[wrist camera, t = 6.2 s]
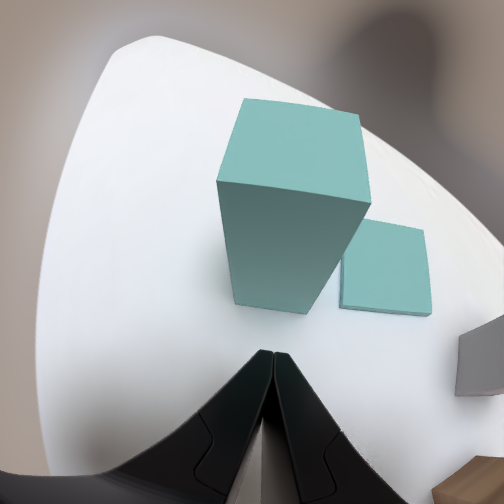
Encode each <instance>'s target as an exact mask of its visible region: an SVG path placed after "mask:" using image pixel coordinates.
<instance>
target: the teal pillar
mask: <svg viewBox="0 0 504 504" xmlns="http://www.w3.org/2000/svg"><path fill="white" fill-rule="evenodd" d="M216 182H217V189H218V196H219V203H220V210H221V217H222V224H223V231H224V237H225V244H226V250H227V257H228V263H229V269H230V276H231V282H232V288H233V294H234V300H235V304H238V305H244V306H251V307H258V308H264V309H271V310H278V311H286V312H293V313H301V314H307V313H308V311H309V310H310V308H311V307H312V305H313V304H314V302H315V300H316V299H317V297H318V296H319V294H320V292H321V291H322V289H323V287H324V286H325V284H326V283H327V281H328V279H329V278H330V276H331V274H332V273H333V271H334V269H335V268H336V266H337V264H338V262H339V261H340V259H341V257H342V256H343V254H344V252H345V250H346V249H347V247H348V245H349V243H350V242H351V240H352V238H353V236H354V234H355V233H356V231H357V229H358V227H359V225H360V224H361V222H362V220H363V218H364V216H365V214H366V212H367V210H368V209H369V207H370V205H371V195H370V186H369V177H368V170H367V163H366V156H365V149H364V143H363V137H362V131H361V126H360V121H359V115H357V114H352V113H347V112H342V111H337V110H332V109H326V108H321V107H315V106H308V105H302V104H294V103H287V102H278V101H269V100H259V99H247V98H244V100H243V103H242V105H241V108H240V111H239V114H238V117H237V120H236V122H235V125H234V128H233V131H232V134H231V137H230V140H229V143H228V146H227V149H226V152H225V155H224V158H223V161H222V164H221V167H220V170H219V173H218V177H217V180H216Z"/></svg>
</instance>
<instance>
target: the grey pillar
mask: <svg viewBox="0 0 504 504" xmlns="http://www.w3.org/2000/svg"><path fill="white" fill-rule="evenodd" d="M499 394H504V315H502V316H500V317H498V318H496V319H494V320H492V321H490V322H488V323H486V324H484V325H482V326H480V327H478V328H476V329H474V330H471V331H469V332H467V333H465V334H463V335H460V336H459V355H458V369H457V380H456V389H455V396H493V395H499Z"/></svg>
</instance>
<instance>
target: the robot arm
mask: <svg viewBox="0 0 504 504" xmlns="http://www.w3.org/2000/svg"><path fill="white" fill-rule="evenodd" d="M262 418H263V420H262ZM261 422H262V464H261V504H408V503H407V502H406V501H405V500H403V499H402V498H401V497H400V496H399V495H398V494H397V493H396V492H395V491H394V490H393V489H392V488H391V487H390V486H389V485H388V484H387V483H386V482H385V481H384V480H383V479H382V478H381V477H380V476H379V475H378V474H377V473H376V472H375V471H374V470H373V469H372V468H371V466H370V465H369V464H368V463H367V462H366V461H365V460H364V459H363V458H362V456H361V455H360V454H359V453H358V452H357V450H356V449H355V448H354V446H353V445H352V444H351V443H350V441H349V440H348V438H347V437H346V436H345V434H344V433H343V432H342V431H341V429H340V427H339V426H338V425H337V423H336V422H335V420H334V419H333V417H332V416H331V415H330V413H329V412H328V410H327V409H326V407H325V406H324V405H323V403H322V402H321V400H320V399H319V397H318V396H317V394H316V393H315V392H314V390H313V389H312V387H311V386H310V384H309V383H308V381H307V380H306V378H305V377H304V375H303V374H302V373H301V371H300V370H299V368H298V367H297V365H296V364H295V362H294V361H293V359H292V358H291V356H290V355H289V354H288V353H282V352H275V353H273V352H272V351H268V350H261V349H260V350H258V351H257V352H256V353H255V355H254V356H253V357H252V358H251V359H250V360H249V361H248V362H247V363H246V364H245V365H244V366H243V367H242V368H241V369H240V370H239V371H238V372H237V373H236V374H235V375H234V376H233V377H232V378H231V379H230V380H229V381H228V382H227V383H226V384H225V385H224V386H223V387H222V388H221V389H220V390H219V391H218V392H217V393H216V394H215V395H214V396H212V397H211V398H210V399H209V400H208V401H207V402H206V403H205V404H204V405H203V406H202V407H201V408H200V409H199V410H198V411H197V412H195V413H194V414H193V415H192V416H191V417H190V418H189V419H188V420H187V421H185V422H184V423H183V424H182V425H181V426H180V427H178V428H177V429H176V430H175V431H173V432H172V433H171V434H169V435H168V436H166V437H165V438H163V439H162V440H160V441H159V442H158V443H156V444H154V445H153V446H151V447H150V448H148V449H146V450H145V451H143V452H141V453H140V454H138V455H136V456H135V457H133V458H131V459H130V460H128V461H126V462H124V463H123V464H121V465H119V466H117V467H115V468H113V469H111V470H109V471H106V472H103V473H99V474H95V475H85V476H31V475H17V474H12V473H7V472H4V471H1V470H0V504H234V503H235V500H236V497H237V495H238V492H239V489H240V486H241V484H242V481H243V478H244V475H245V472H246V469H247V466H248V463H249V460H250V457H251V454H252V451H253V448H254V445H255V442H256V439H257V436H258V433H259V430H260V426H261Z"/></svg>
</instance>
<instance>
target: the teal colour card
mask: <svg viewBox="0 0 504 504" xmlns="http://www.w3.org/2000/svg"><path fill="white" fill-rule="evenodd" d="M340 308H346V309H355V310H365V311H374V312H384V313H395V314H406V315H418V316H429V315H430V314H432V301H431V288H430V277H429V268H428V259H427V252H426V245H425V238H424V232H423V230H421V229H416V228H411V227H406V226H401V225H396V224H390V223H385V222H380V221H374V220H369V219H363V220H362V222H361V224H360V225H359V227H358V229H357V231H356V233H355V234H354V236H353V238H352V240H351V242H350V243H349V245H348V247H347V249H346V250H345V252H344V254H343V256H342V270H341V297H340Z"/></svg>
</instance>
